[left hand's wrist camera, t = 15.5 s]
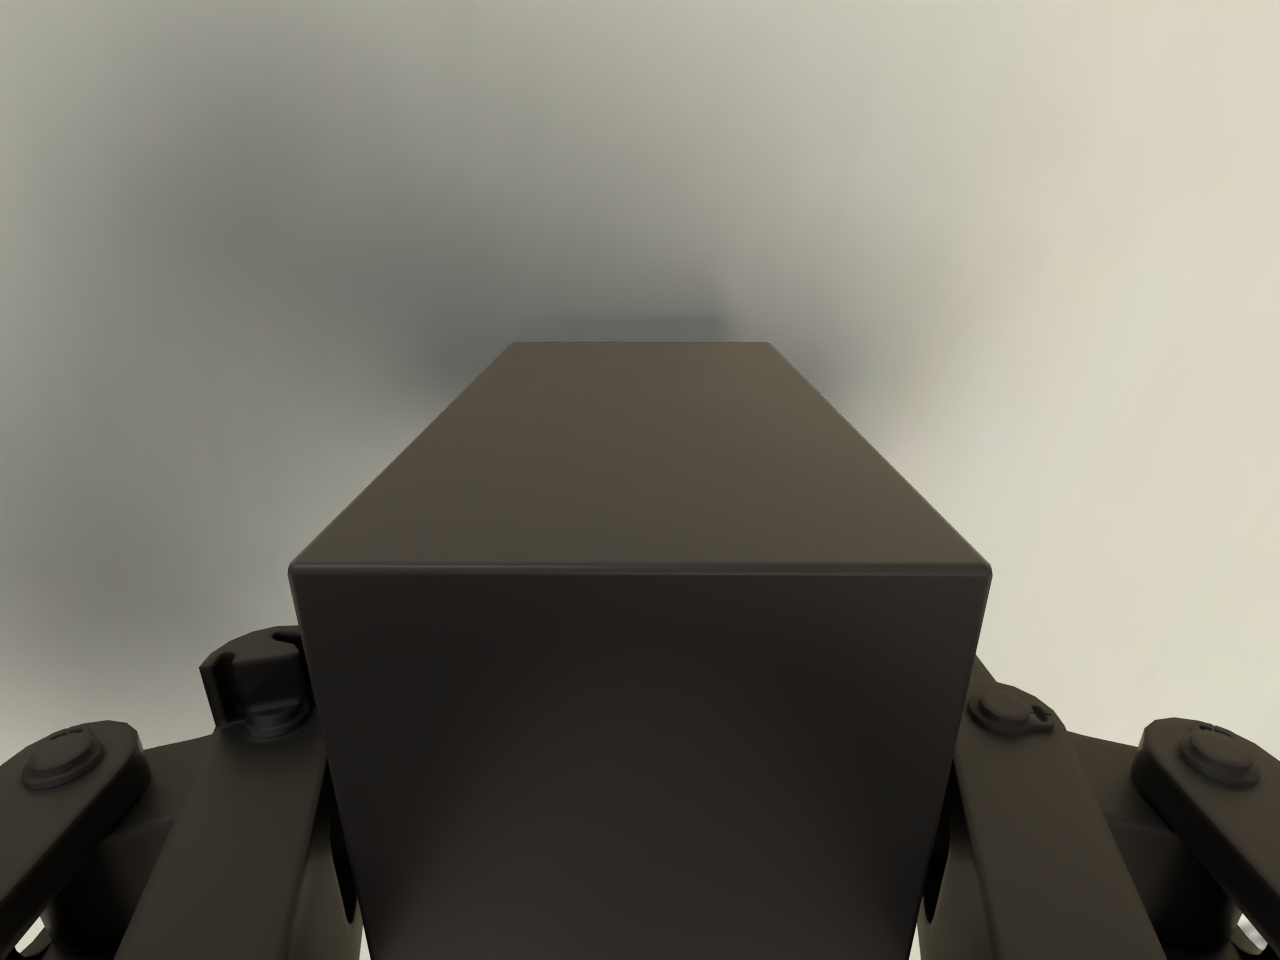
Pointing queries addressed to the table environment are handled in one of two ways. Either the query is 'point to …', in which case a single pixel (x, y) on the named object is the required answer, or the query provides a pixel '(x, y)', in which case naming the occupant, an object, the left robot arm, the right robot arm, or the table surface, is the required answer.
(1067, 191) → the table surface
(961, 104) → the table surface
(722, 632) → the bar
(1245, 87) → the table surface
